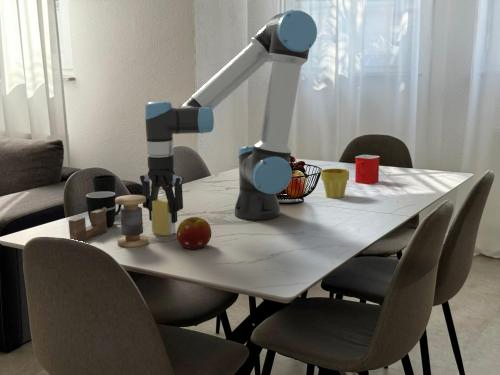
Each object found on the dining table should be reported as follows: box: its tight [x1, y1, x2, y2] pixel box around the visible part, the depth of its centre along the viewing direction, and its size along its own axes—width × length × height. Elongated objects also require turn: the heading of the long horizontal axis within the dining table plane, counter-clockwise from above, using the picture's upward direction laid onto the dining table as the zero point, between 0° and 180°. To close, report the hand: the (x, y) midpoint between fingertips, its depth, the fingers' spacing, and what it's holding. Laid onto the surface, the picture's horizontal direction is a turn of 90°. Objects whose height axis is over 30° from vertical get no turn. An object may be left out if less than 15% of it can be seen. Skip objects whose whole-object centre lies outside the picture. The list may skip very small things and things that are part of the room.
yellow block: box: [152, 198, 171, 236], centre depth 179 cm, size 5×4×10 cm
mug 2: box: [354, 154, 380, 185], centre depth 249 cm, size 12×8×11 cm
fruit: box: [176, 216, 212, 250], centre depth 166 cm, size 10×9×8 cm
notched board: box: [68, 209, 108, 243], centre depth 176 cm, size 2×14×7 cm, turn 157°
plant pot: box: [320, 167, 350, 199], centre depth 225 cm, size 10×10×10 cm
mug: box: [85, 191, 122, 229], centre depth 189 cm, size 12×9×10 cm
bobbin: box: [115, 194, 149, 249], centre depth 169 cm, size 8×8×13 cm
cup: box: [92, 174, 117, 194], centre depth 207 cm, size 8×8×12 cm
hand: (163, 232), depth 180 cm, fingers closed on yellow block, 5 cm apart
